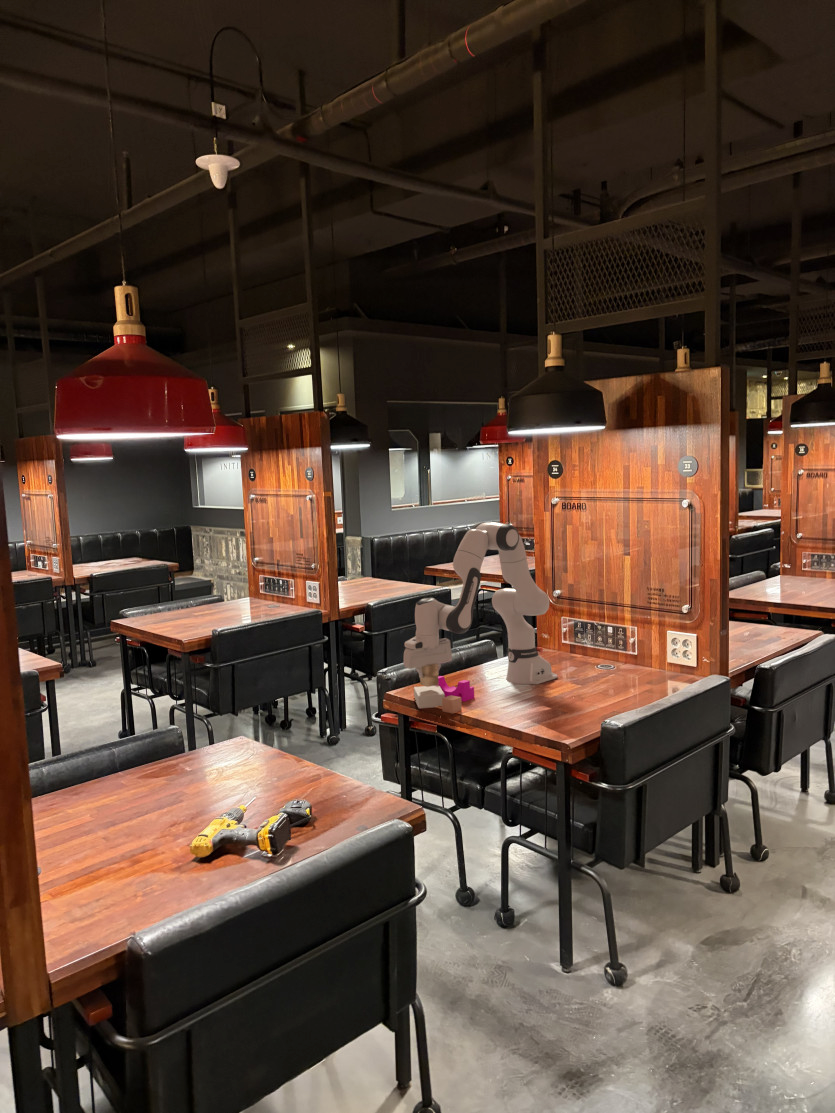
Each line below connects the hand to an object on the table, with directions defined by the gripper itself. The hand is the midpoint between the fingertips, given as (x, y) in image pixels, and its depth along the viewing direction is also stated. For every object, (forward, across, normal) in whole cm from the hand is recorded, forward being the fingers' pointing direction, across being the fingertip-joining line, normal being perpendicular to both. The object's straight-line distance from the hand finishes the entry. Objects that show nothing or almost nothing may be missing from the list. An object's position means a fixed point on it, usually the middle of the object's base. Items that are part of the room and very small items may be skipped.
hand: (428, 676), depth 306 cm
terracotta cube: (+10, 0, +15) cm, 18 cm away
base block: (+10, 0, 0) cm, 11 cm away
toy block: (+10, -12, 0) cm, 16 cm away
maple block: (+3, 0, 0) cm, 3 cm away
